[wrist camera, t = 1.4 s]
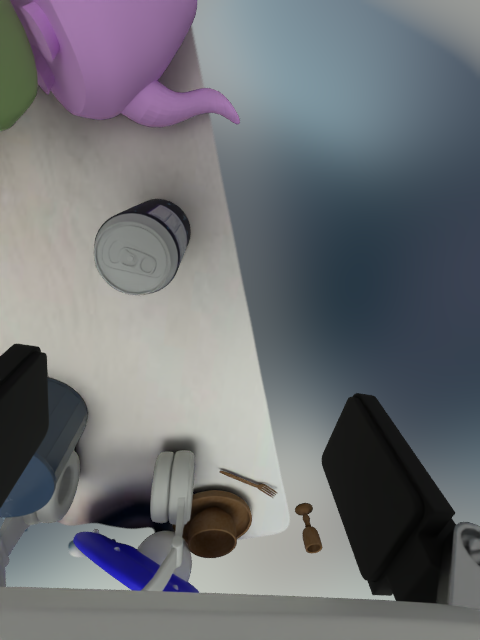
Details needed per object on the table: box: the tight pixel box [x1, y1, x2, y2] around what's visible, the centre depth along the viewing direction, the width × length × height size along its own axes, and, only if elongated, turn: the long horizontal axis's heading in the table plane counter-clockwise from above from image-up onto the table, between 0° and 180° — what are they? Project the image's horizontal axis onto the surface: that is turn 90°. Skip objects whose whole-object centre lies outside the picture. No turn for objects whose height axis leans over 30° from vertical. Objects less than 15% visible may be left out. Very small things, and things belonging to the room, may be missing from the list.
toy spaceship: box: [73, 529, 199, 593], centre depth 46 cm, size 25×25×7 cm
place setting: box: [172, 471, 322, 558], centre depth 48 cm, size 18×20×6 cm
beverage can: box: [94, 199, 190, 295], centre depth 26 cm, size 6×6×12 cm
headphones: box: [0, 450, 195, 591], centre depth 35 cm, size 20×8×19 cm, turn 85°
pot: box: [36, 378, 88, 483], centre depth 36 cm, size 10×10×10 cm
